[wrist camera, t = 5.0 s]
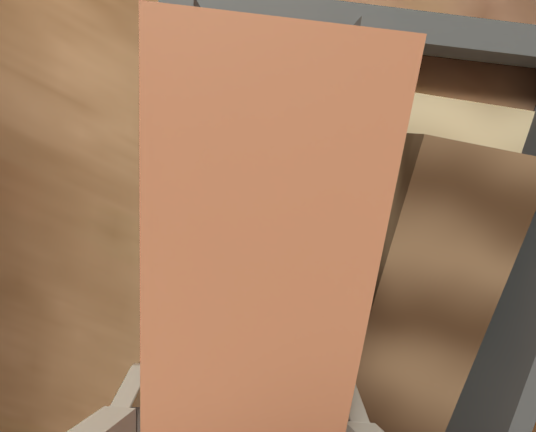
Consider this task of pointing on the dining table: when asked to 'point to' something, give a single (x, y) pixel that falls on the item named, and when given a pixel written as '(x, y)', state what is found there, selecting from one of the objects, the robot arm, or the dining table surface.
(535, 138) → the rack
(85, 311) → the dining table surface
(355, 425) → the robot arm
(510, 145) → the board
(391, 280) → the upper offcut
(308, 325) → the salmon brown rectangular block
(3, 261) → the dining table surface
